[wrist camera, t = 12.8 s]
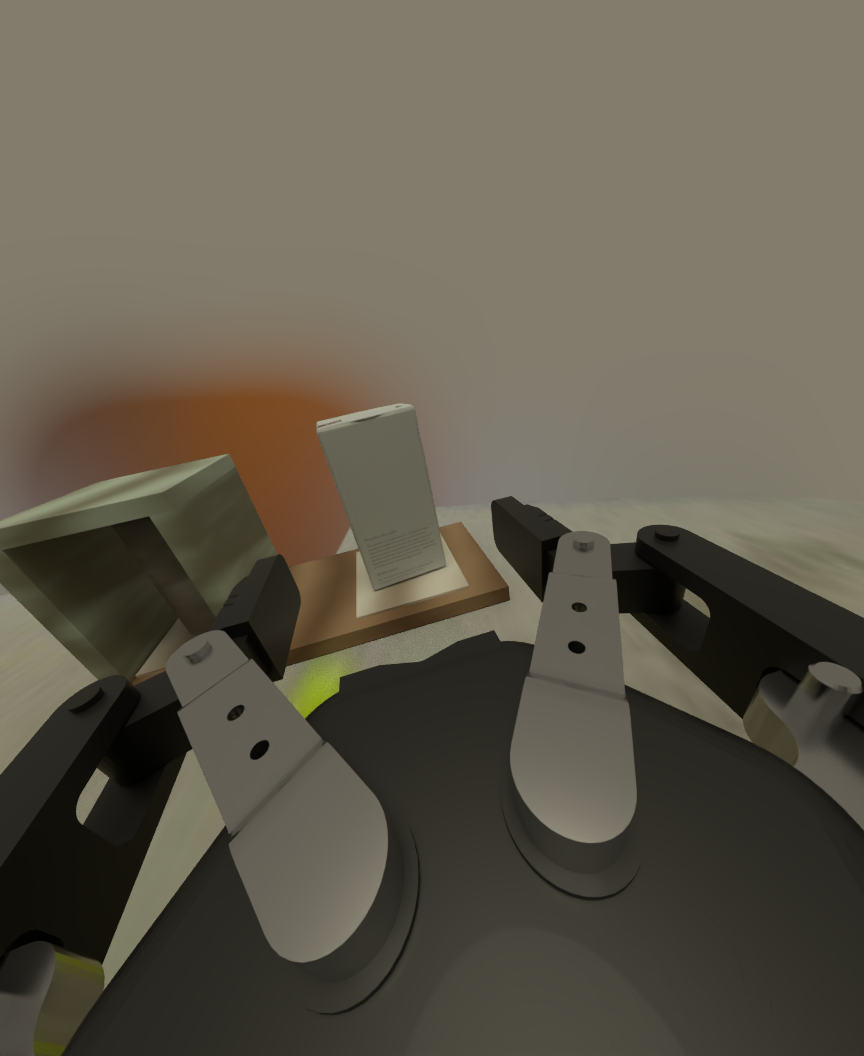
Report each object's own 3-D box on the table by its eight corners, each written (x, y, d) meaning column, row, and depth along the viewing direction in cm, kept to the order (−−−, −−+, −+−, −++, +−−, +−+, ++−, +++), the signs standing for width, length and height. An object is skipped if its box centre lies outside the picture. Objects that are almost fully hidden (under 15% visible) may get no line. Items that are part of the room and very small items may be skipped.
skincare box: (430, 543, 28) (401, 400, 22) (449, 569, 24) (419, 403, 19) (363, 566, 27) (314, 419, 21) (371, 596, 23) (314, 426, 17)
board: (110, 717, 19) (-72, 549, 13) (194, 603, 29) (108, 478, 23) (509, 599, 22) (495, 421, 16) (462, 532, 32) (443, 405, 26)
